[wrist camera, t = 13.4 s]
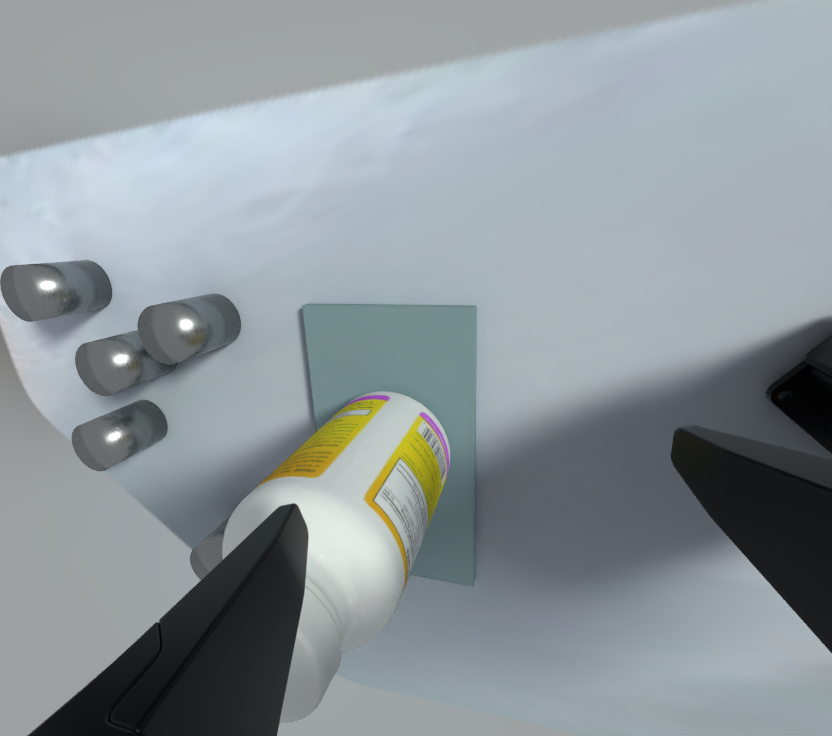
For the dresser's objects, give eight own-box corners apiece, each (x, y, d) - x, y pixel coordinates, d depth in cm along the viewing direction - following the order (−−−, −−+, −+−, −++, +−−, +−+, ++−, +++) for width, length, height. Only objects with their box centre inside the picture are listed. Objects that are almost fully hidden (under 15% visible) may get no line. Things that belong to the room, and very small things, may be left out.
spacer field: (278, 255, 23) (227, 261, 19) (320, 592, 30) (287, 643, 26) (68, 260, 27) (-7, 265, 24) (145, 554, 34) (95, 594, 30)
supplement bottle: (321, 460, 25) (127, 662, 14) (361, 364, 23) (164, 513, 11) (423, 519, 25) (310, 785, 13) (476, 427, 22) (394, 657, 10)
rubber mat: (476, 305, 21) (474, 307, 20) (474, 578, 26) (473, 586, 25) (307, 303, 23) (302, 305, 23) (334, 552, 28) (330, 559, 28)
